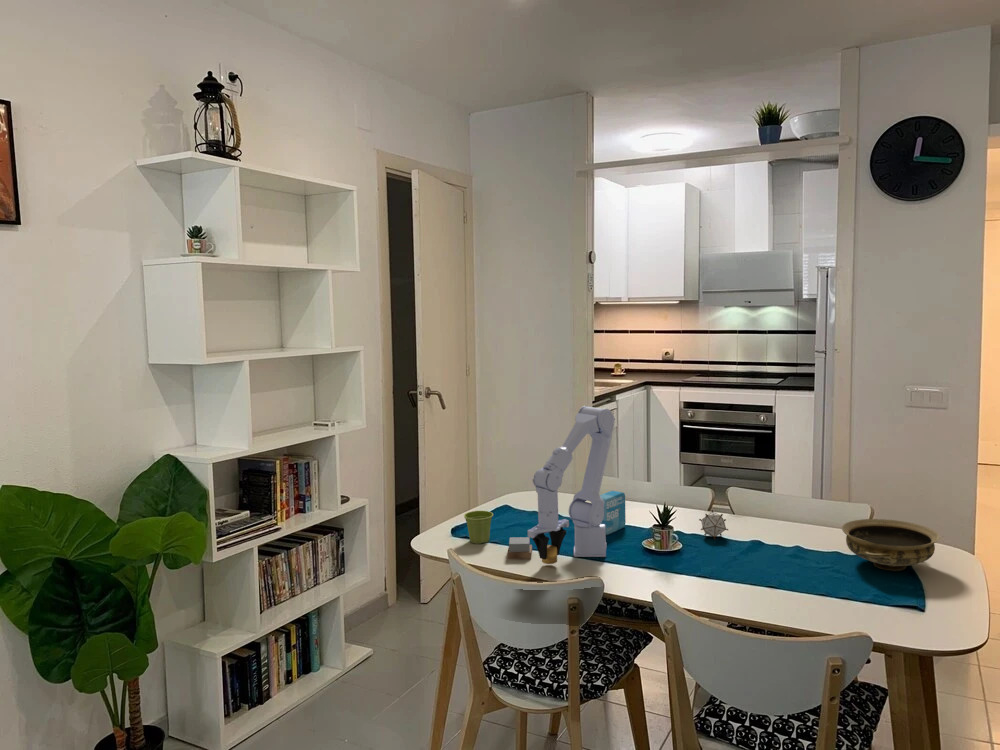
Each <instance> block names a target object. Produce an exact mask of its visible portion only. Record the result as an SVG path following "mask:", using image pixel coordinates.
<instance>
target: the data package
mask: <svg viewBox="0 0 1000 750" xmlns="http://www.w3.org/2000/svg"><path fill="white" fill-rule="evenodd" d="M599 495H600V497H601V498H602V499H603V501H604V502H605V504H604V518H603V521H602V522H601V523H600V524H605V533H606V536H608V535H610V534H613V533H614V532H617V531H619V530H621V529H623V528H624V527H625V526H626V494H625V492H622V491H616V490H610V491H608V492H605V493H601V494H599Z"/></svg>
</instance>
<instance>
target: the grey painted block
mask: <svg viewBox="0 0 1000 750" xmlns="http://www.w3.org/2000/svg"><path fill="white" fill-rule="evenodd" d="M530 540H531V538H530V537H528V536H526V537H521V536H520V537H515V536H513V537H509V541H508V544H509V545H508V548H509V552H530V545H531V543H530Z"/></svg>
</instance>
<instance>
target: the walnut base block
mask: <svg viewBox="0 0 1000 750" xmlns="http://www.w3.org/2000/svg"><path fill="white" fill-rule="evenodd" d="M506 553H507V555H506V556H507V557H506V558H507V560H532V556H533V555H532V554H533V545H532V544H530V552H509V547H508V548H507V552H506Z"/></svg>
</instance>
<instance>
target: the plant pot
mask: <svg viewBox="0 0 1000 750" xmlns="http://www.w3.org/2000/svg"><path fill="white" fill-rule="evenodd" d="M463 517H464V519H465V522H466V526H467V529H468V530H467V531H468V536H469V541H470V542H471V543H473V544H481V545H482V544H483V543H488V542H489V541H490V534H491V524H492V519H493V517H494V513H493V512H491V511H488V510H474V511H473V510H471V511H468V512H465V513H464V514H463Z"/></svg>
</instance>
